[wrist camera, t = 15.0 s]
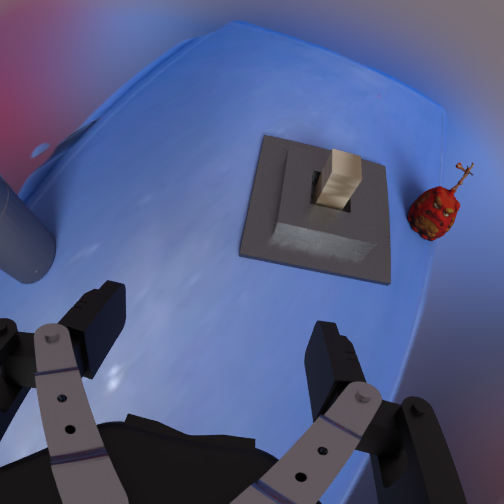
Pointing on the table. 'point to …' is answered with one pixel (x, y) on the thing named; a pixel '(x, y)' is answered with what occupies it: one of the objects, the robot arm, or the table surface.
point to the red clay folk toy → (435, 210)
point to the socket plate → (317, 216)
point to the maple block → (338, 180)
